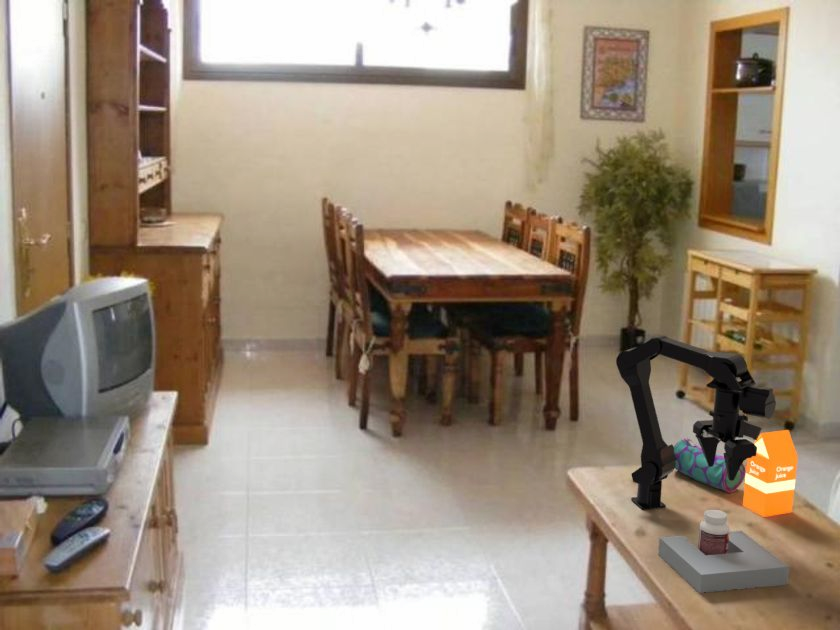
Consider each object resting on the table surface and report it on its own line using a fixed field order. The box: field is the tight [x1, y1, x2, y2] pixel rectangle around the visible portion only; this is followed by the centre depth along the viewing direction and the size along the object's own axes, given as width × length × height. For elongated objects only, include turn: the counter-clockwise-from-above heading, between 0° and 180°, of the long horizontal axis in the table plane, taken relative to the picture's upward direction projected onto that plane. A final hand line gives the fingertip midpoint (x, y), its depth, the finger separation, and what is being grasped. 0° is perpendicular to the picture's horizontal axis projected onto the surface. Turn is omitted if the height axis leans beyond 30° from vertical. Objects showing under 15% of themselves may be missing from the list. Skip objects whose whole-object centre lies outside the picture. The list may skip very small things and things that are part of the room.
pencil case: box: [673, 437, 746, 494], centre depth 261 cm, size 21×9×10 cm, turn 30°
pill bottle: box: [697, 509, 731, 555], centre depth 213 cm, size 6×6×11 cm
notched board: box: [657, 530, 790, 594], centre depth 210 cm, size 18×20×4 cm
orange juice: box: [742, 429, 799, 518], centre depth 242 cm, size 8×9×20 cm
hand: (720, 473), depth 230 cm, fingers open, 9 cm apart
